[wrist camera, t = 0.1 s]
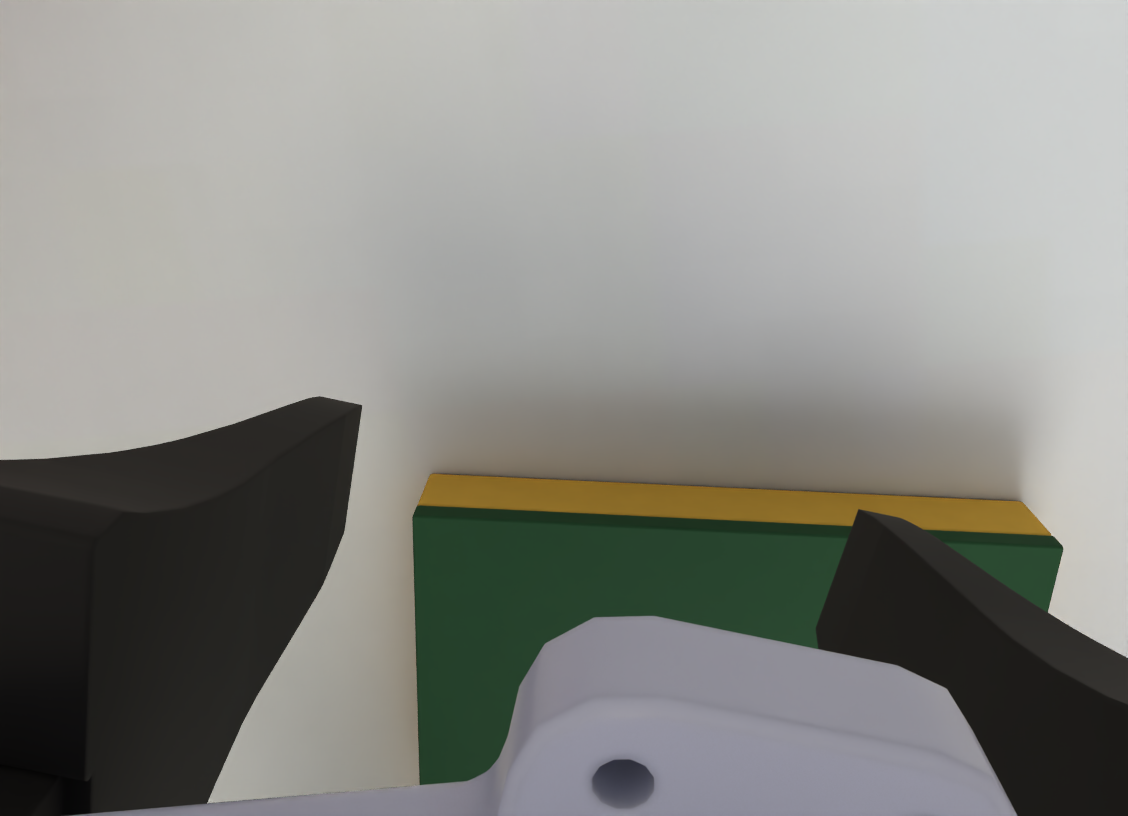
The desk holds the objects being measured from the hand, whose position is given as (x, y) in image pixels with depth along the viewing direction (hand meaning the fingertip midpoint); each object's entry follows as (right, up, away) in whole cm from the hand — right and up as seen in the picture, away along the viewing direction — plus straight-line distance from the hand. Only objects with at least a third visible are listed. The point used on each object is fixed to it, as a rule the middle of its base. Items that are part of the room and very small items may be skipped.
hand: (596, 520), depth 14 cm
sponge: (+3, -6, +13) cm, 14 cm away
